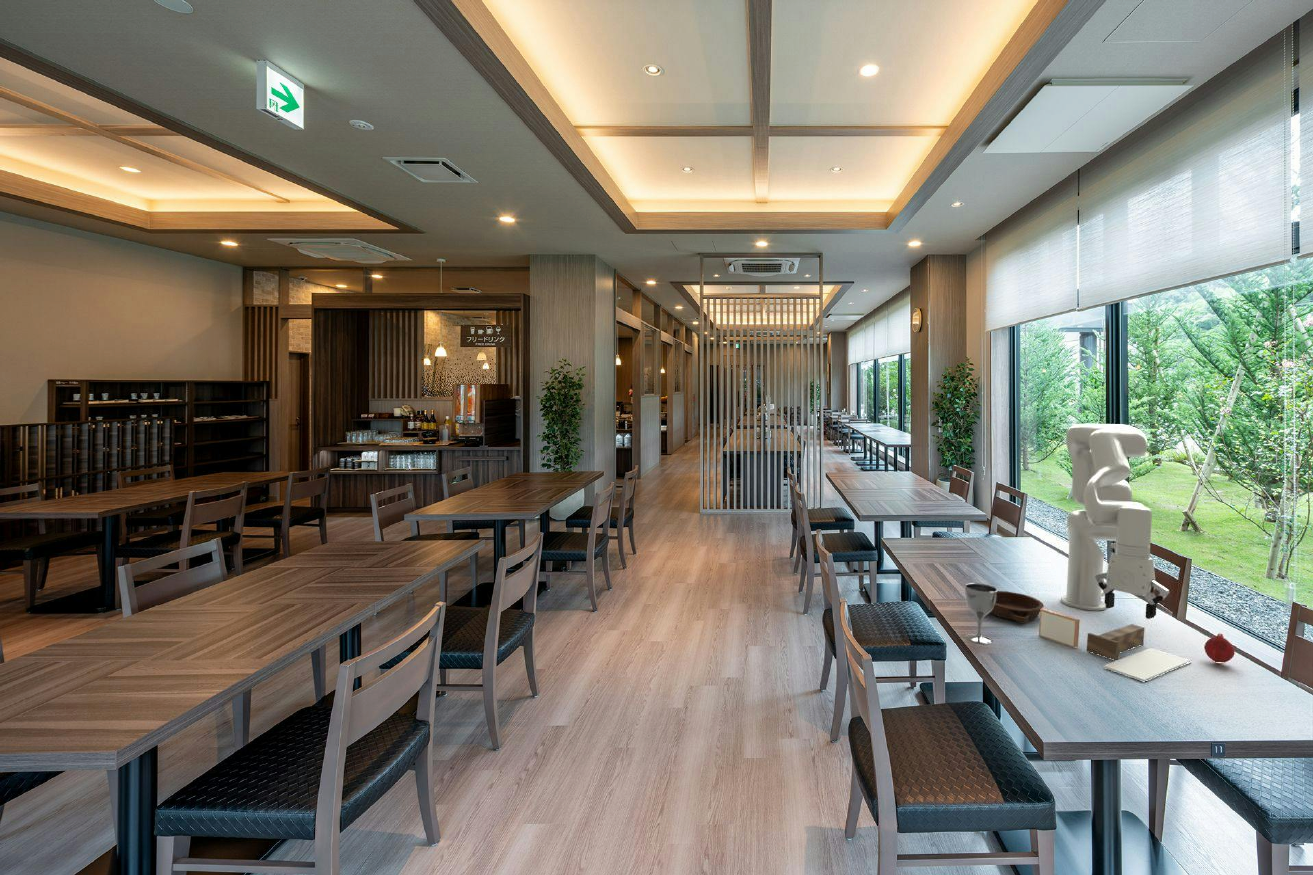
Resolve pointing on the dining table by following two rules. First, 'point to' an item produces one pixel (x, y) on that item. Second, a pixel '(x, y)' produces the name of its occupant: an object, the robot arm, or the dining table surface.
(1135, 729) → the dining table surface
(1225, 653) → the onion
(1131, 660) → the board
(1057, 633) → the wooden picture frame
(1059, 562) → the dining table surface
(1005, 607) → the dish
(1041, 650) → the dining table surface
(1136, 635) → the brown wooden brick
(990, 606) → the wine glass
